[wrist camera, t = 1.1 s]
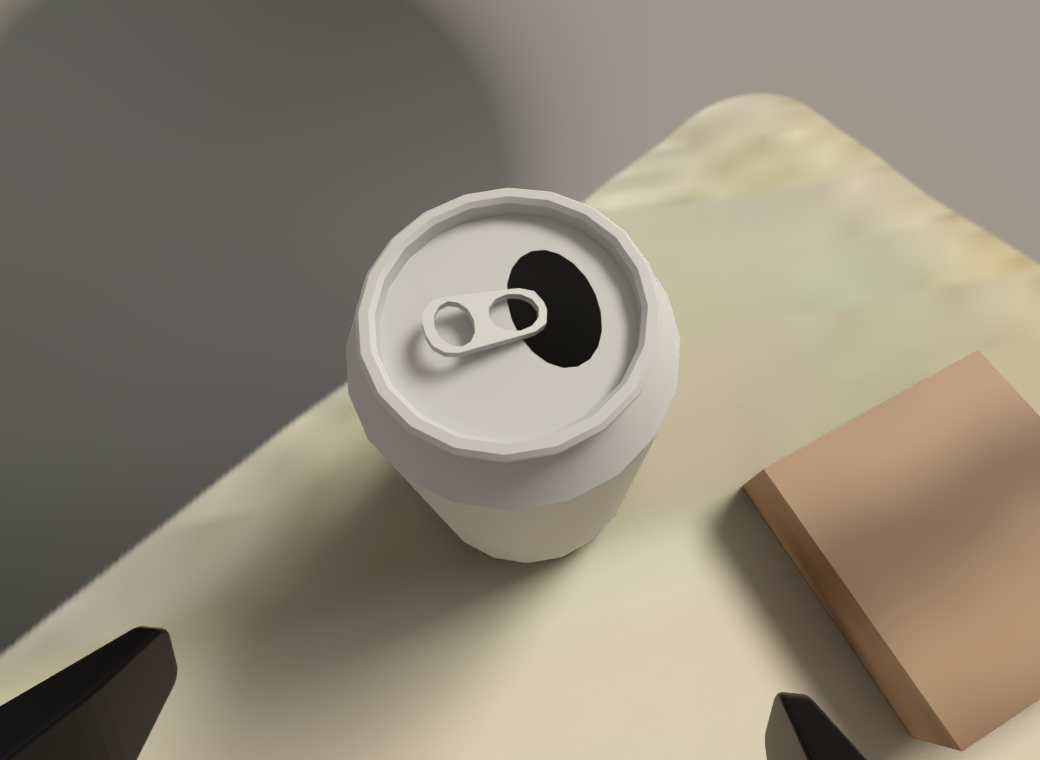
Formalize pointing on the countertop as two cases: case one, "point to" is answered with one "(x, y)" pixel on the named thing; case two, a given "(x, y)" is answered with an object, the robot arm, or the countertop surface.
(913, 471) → the walnut plinth
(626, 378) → the can
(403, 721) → the countertop surface
